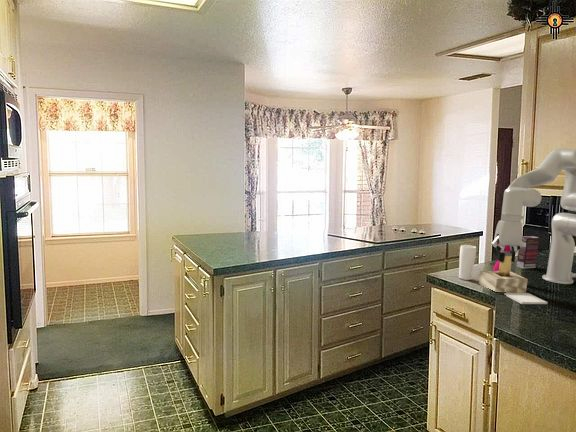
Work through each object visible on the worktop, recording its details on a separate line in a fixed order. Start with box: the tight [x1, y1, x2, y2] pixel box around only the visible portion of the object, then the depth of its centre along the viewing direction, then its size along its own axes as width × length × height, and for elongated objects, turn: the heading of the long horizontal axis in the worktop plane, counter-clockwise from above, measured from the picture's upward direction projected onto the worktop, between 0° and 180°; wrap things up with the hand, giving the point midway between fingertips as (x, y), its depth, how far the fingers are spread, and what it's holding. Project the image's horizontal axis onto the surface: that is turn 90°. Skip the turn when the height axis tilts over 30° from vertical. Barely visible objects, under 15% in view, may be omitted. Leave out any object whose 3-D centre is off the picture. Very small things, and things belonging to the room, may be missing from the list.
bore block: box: [478, 270, 529, 293], centre depth 200 cm, size 14×12×6 cm
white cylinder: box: [458, 244, 477, 281], centre depth 211 cm, size 7×7×15 cm
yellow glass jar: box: [498, 251, 513, 277], centre depth 199 cm, size 4×4×12 cm
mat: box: [503, 292, 549, 305], centre depth 187 cm, size 11×11×1 cm
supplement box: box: [516, 235, 540, 269], centre depth 241 cm, size 9×5×16 cm, turn 111°
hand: (505, 260), depth 198 cm, fingers closed on yellow glass jar, 4 cm apart
